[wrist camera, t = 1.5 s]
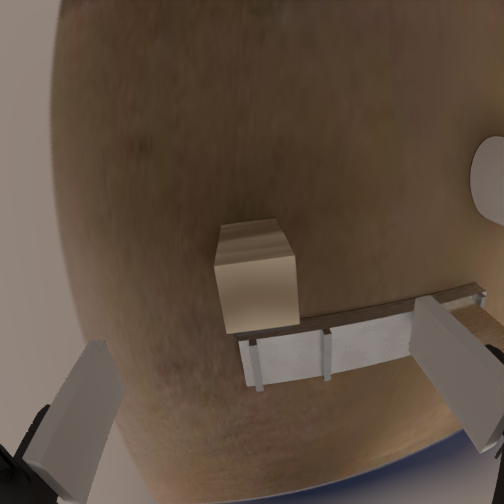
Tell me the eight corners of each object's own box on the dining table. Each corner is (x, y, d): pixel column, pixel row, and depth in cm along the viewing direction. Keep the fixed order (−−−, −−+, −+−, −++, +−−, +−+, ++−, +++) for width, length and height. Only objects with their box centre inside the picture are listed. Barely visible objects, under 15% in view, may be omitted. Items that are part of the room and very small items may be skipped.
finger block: (221, 225, 23) (213, 266, 16) (275, 217, 23) (294, 255, 16) (230, 282, 25) (228, 342, 17) (281, 275, 25) (300, 332, 17)
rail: (238, 327, 26) (240, 418, 17) (475, 283, 26) (538, 331, 17) (246, 372, 28) (250, 460, 18) (467, 324, 28) (520, 377, 18)
